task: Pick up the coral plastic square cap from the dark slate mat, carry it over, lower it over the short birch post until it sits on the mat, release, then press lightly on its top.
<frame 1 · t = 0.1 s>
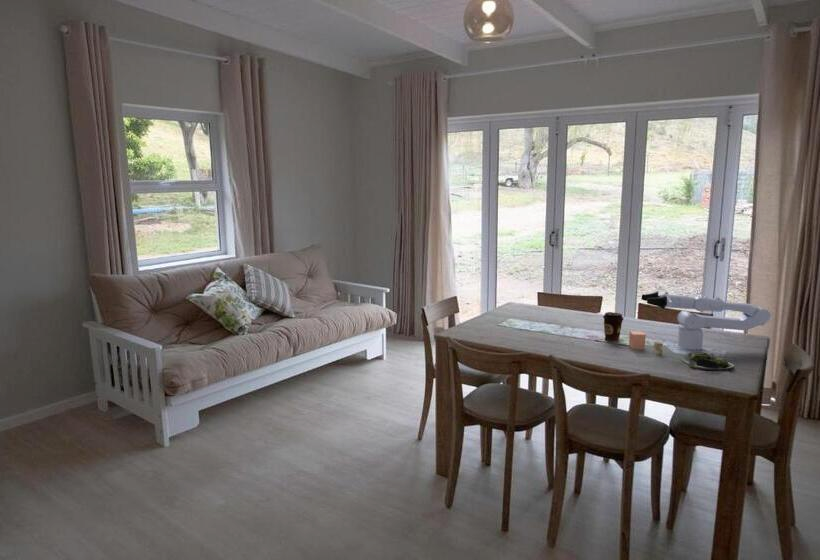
hand: (644, 299, 242), 22 cm above the table, tool horizontal, fingers open, 7 cm apart
salad plate: (706, 366, 221), on the table
mat: (652, 352, 238), on the table
post: (657, 354, 234), resting on mat
coffee cup: (611, 341, 255), on the table
cap: (636, 347, 243), resting on mat
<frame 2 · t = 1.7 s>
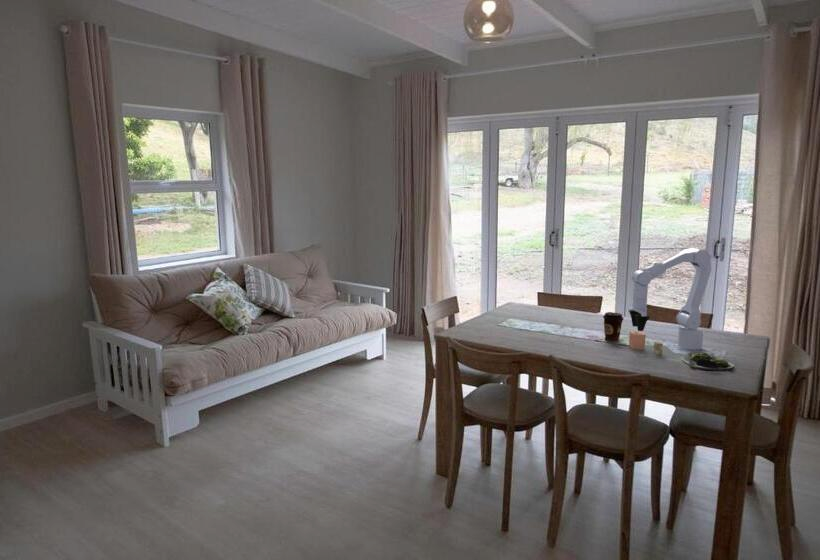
hand: (637, 328, 242), 9 cm above the table, tool pointing down, fingers open, 7 cm apart
nothing on the table moved.
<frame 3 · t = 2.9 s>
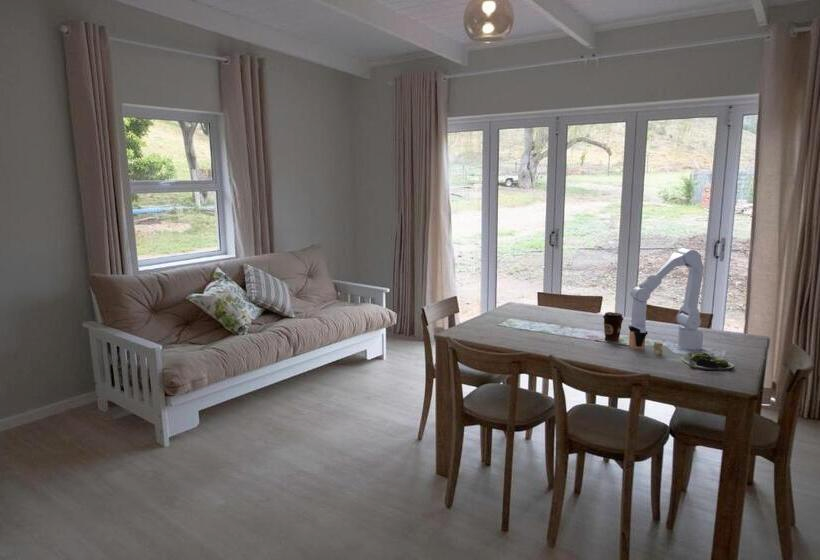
hand: (636, 344, 243), 2 cm above the table, tool pointing down, fingers closed on cap, 5 cm apart
cap: (636, 347, 243), resting on mat, touching gripper
everything else where it was.
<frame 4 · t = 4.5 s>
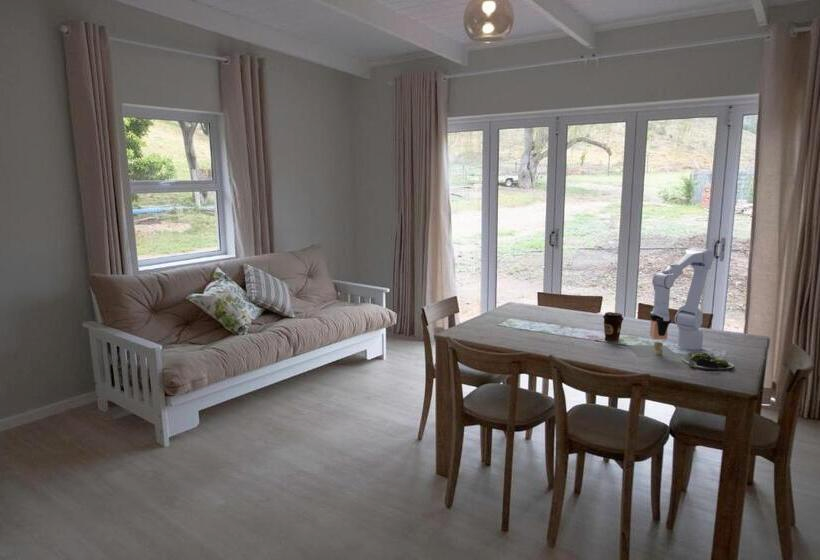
hand: (659, 333, 232), 9 cm above the table, tool pointing down, fingers closed on cap, 5 cm apart
cap: (658, 337, 233), point 8 cm above the table, touching gripper
everything else where it was.
when the fingers open (3 cm above the table, at t = 6.2 s): cap stays where it is, resting on mat.
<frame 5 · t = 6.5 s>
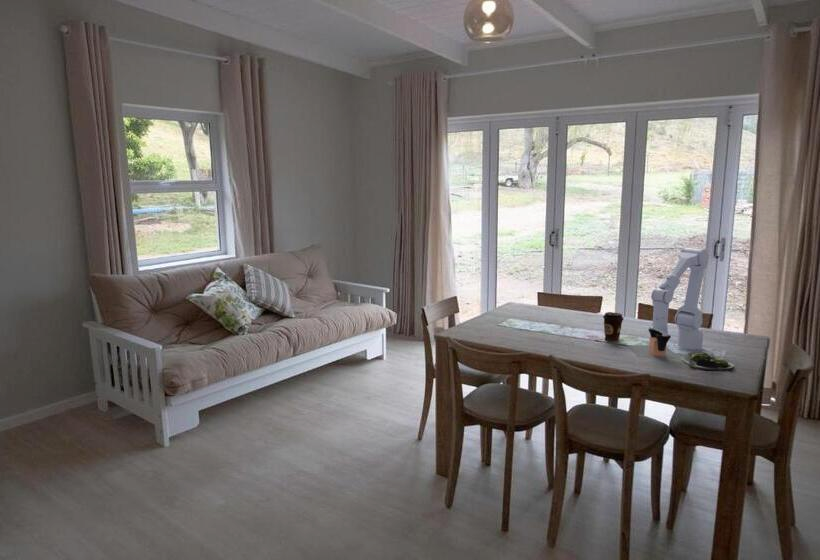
hand: (658, 348, 234), 3 cm above the table, tool pointing down, fingers open, 7 cm apart
cap: (657, 354, 234), resting on mat
everything else where it was.
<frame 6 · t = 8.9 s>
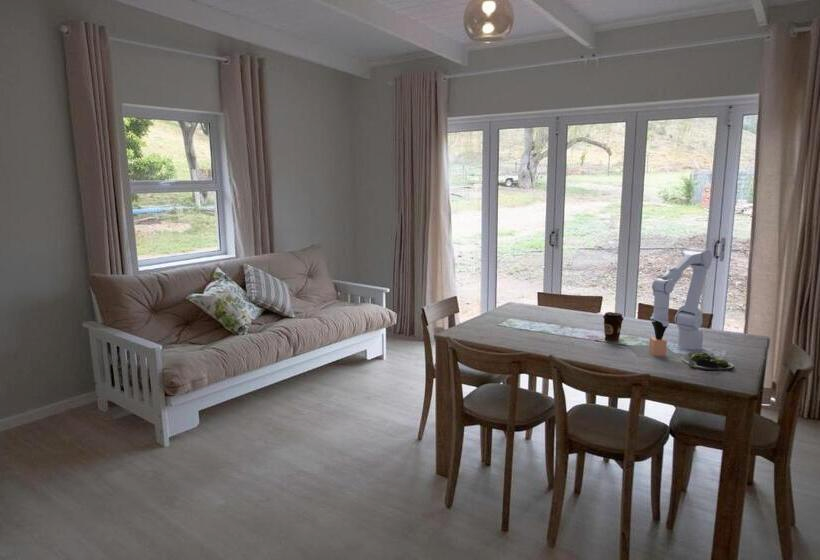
hand: (658, 338, 233), 7 cm above the table, tool pointing down, fingers closed
nothing on the table moved.
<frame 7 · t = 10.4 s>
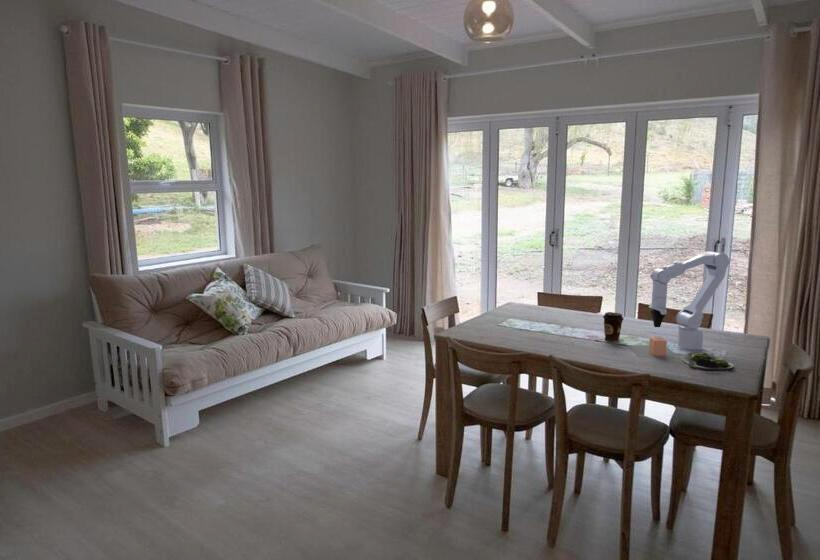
hand: (657, 326, 241), 10 cm above the table, tool pointing down, fingers closed
nothing on the table moved.
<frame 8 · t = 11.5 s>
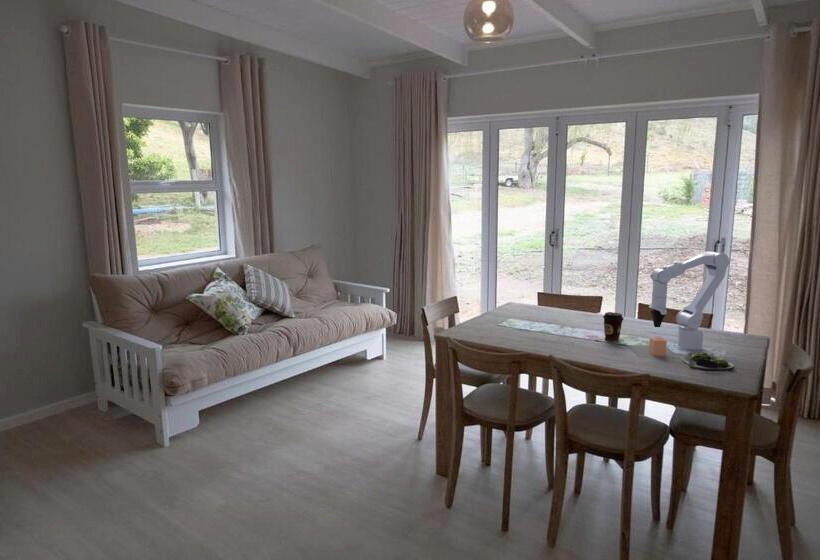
hand: (657, 326, 241), 10 cm above the table, tool pointing down, fingers closed
nothing on the table moved.
at the end: cap 0.2 cm from the post (horizontally); cap resting on mat; the gripper is holding nothing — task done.
